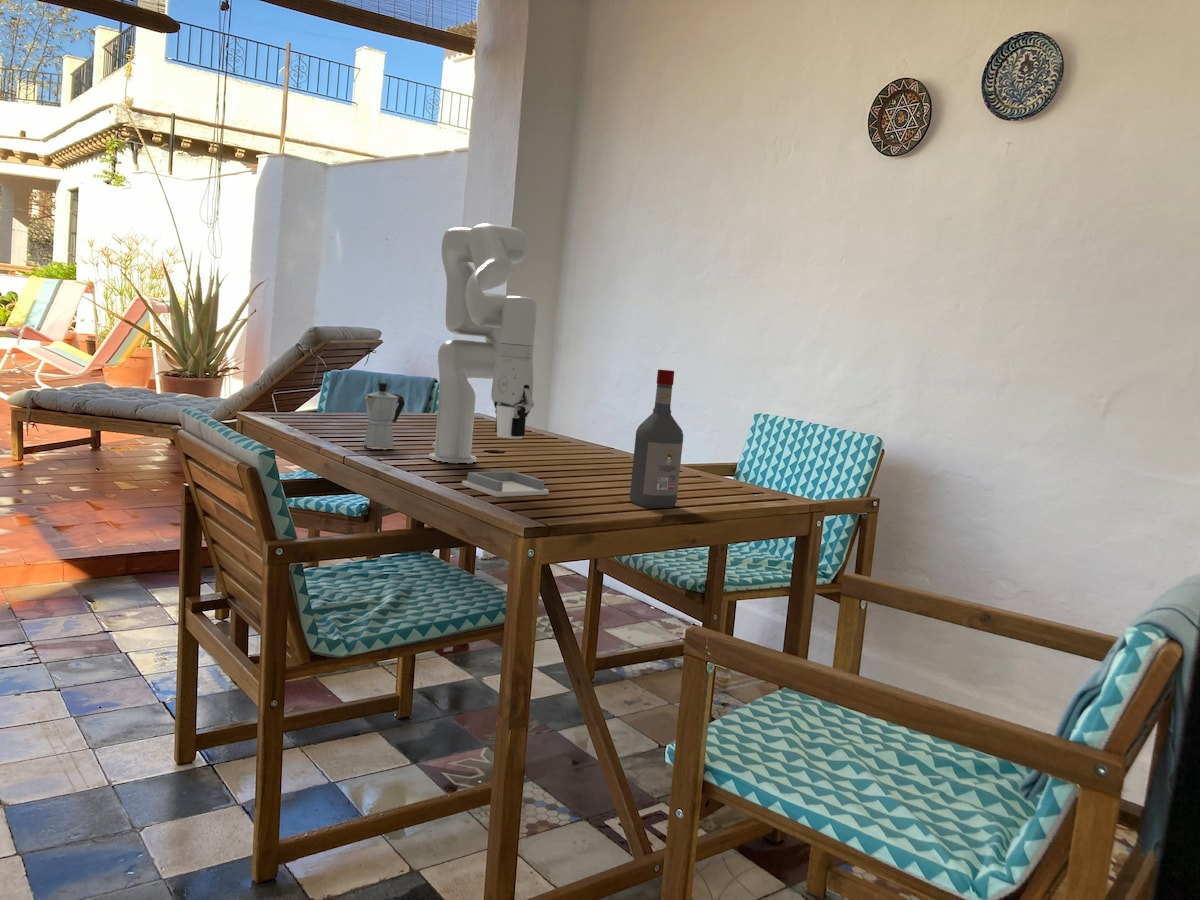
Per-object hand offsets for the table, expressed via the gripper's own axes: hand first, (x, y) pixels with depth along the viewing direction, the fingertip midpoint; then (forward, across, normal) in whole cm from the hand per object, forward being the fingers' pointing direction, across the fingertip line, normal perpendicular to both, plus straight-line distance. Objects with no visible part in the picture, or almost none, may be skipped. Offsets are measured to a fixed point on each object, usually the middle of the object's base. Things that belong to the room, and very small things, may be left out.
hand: (509, 433), depth 209 cm
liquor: (+13, +22, +25) cm, 36 cm away
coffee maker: (+13, -63, +1) cm, 64 cm away
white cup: (+1, 0, 0) cm, 1 cm away
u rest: (+13, 0, 0) cm, 13 cm away
